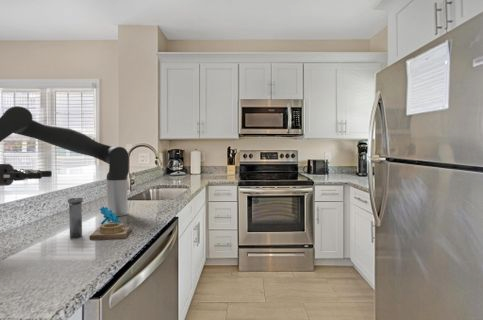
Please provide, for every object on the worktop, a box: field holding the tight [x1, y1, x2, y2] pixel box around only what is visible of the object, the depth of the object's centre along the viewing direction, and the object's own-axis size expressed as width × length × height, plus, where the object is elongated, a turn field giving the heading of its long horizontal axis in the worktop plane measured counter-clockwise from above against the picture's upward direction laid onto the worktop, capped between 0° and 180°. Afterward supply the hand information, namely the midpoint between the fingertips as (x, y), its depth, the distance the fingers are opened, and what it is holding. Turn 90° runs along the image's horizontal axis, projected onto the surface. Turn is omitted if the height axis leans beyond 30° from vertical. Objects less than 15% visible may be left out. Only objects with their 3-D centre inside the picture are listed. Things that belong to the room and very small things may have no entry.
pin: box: [67, 197, 84, 240], centre depth 113 cm, size 5×5×14 cm
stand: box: [89, 222, 132, 241], centre depth 117 cm, size 12×12×4 cm
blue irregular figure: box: [99, 206, 121, 225], centre depth 134 cm, size 11×6×10 cm
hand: (46, 174), depth 111 cm, fingers open, 8 cm apart
